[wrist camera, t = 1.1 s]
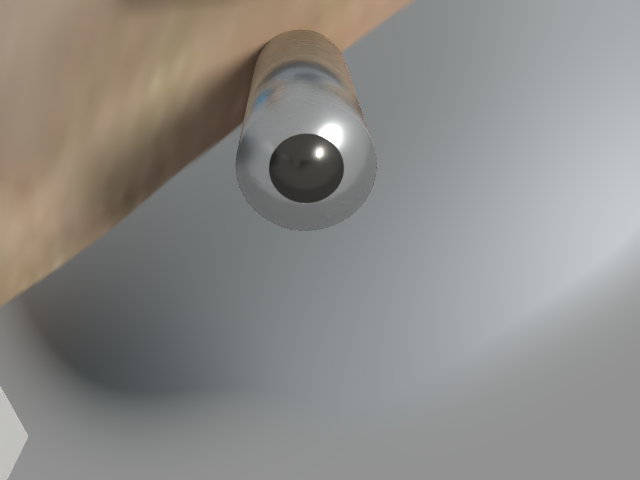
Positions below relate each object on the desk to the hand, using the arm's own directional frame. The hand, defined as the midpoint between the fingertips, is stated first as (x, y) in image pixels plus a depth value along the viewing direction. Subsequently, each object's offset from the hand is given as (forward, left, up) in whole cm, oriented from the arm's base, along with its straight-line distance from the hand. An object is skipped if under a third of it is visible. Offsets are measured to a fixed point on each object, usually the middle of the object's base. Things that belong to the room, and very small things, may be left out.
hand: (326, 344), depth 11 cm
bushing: (0, 0, -20) cm, 20 cm away
